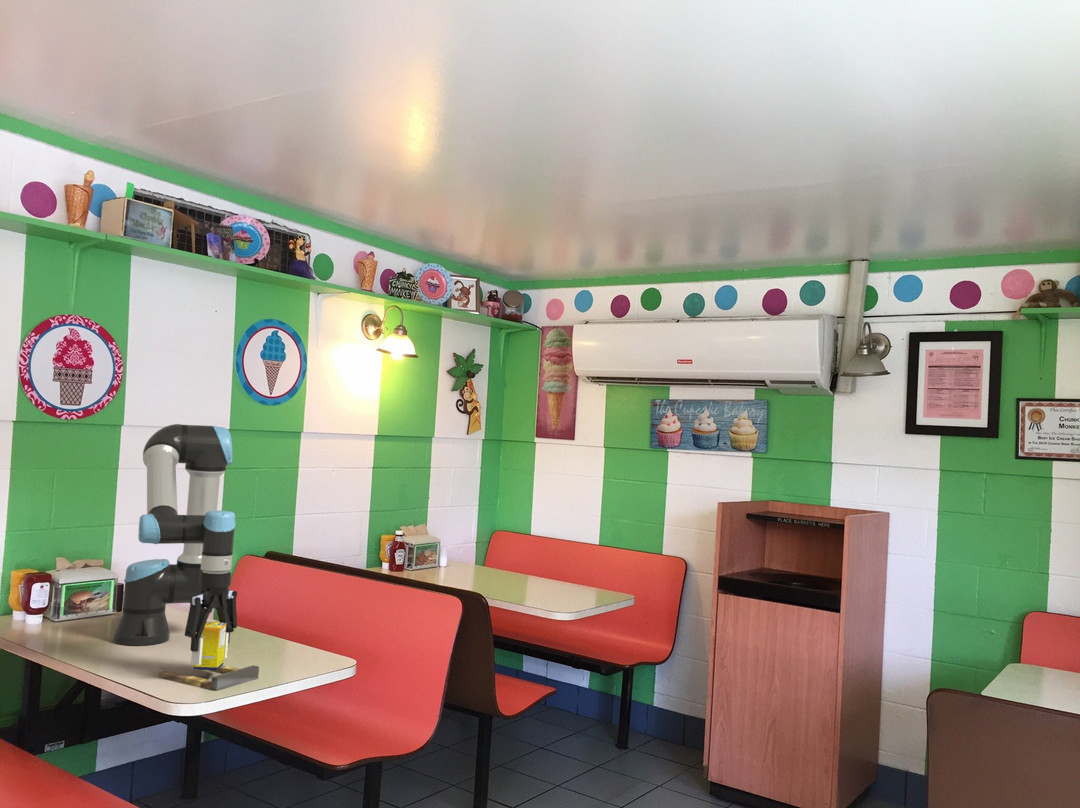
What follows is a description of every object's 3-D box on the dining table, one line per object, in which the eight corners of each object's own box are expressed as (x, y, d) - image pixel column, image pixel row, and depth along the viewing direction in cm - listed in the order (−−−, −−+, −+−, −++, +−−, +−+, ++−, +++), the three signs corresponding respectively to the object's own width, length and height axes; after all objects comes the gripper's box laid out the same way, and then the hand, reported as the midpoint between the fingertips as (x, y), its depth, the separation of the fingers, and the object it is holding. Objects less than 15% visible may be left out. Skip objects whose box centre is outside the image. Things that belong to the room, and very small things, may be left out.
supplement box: (200, 664, 222) (203, 621, 222) (223, 664, 222) (227, 622, 223) (192, 670, 216) (196, 626, 216) (217, 670, 216) (220, 627, 217)
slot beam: (158, 677, 217) (159, 665, 217) (201, 665, 230) (202, 654, 230) (216, 690, 208) (217, 678, 209) (258, 678, 221) (259, 666, 221)
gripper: (194, 577, 209) (187, 671, 208) (256, 568, 228) (249, 655, 227) (172, 573, 213) (165, 666, 212) (235, 565, 231) (228, 650, 230)
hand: (209, 660), depth 219 cm, fingers closed on supplement box, 8 cm apart
